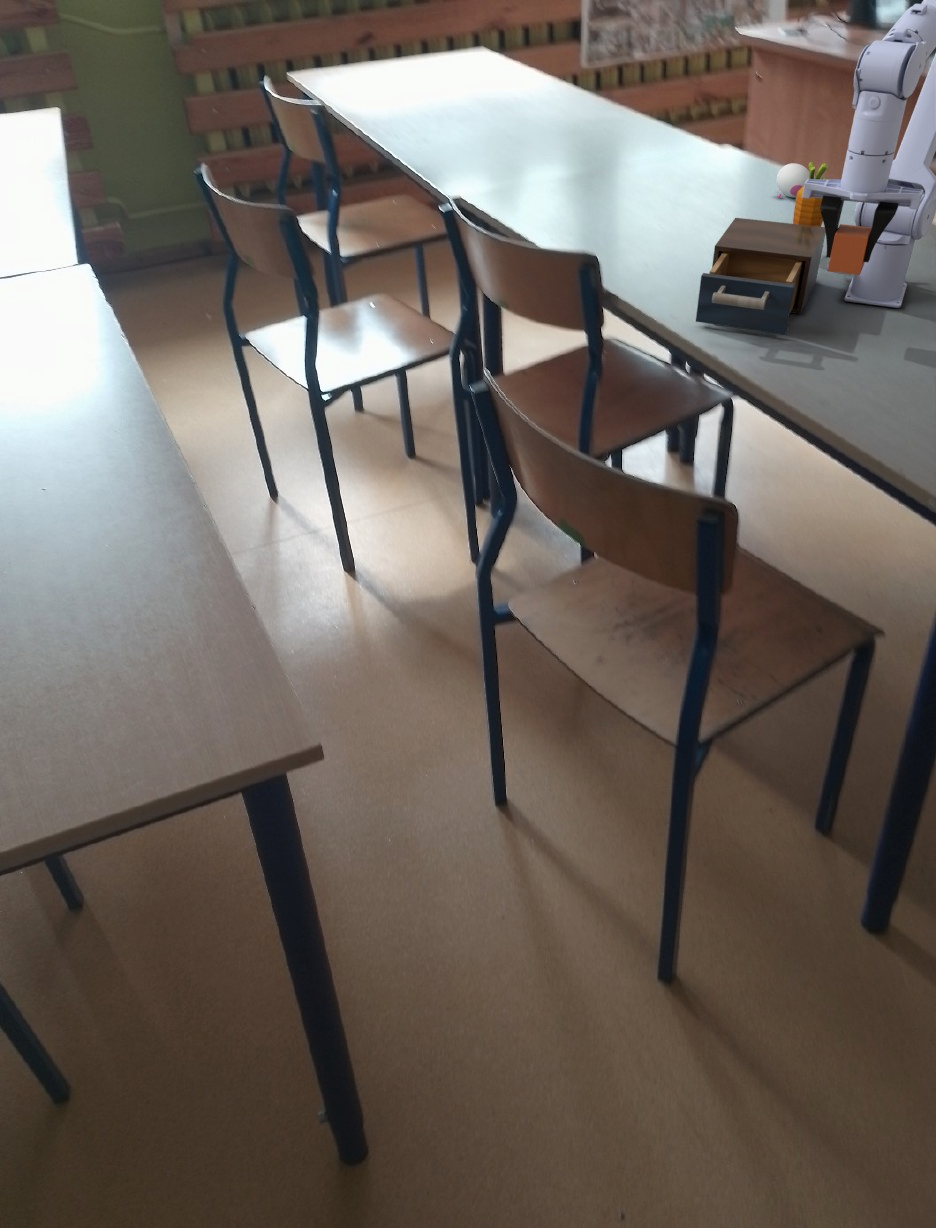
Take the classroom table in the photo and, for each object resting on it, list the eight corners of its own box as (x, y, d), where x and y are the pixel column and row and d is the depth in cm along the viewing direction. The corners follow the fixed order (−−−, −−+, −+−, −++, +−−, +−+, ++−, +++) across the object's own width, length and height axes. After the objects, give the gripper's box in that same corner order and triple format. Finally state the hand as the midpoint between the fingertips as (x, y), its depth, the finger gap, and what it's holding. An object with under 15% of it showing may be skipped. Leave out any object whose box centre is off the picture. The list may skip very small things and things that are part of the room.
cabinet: (800, 314, 144) (811, 257, 139) (707, 301, 149) (714, 245, 144) (815, 282, 154) (826, 227, 148) (727, 271, 158) (735, 217, 153)
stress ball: (806, 218, 187) (831, 186, 184) (780, 198, 182) (804, 164, 179) (786, 205, 192) (809, 173, 189) (760, 184, 188) (783, 152, 185)
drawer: (778, 348, 134) (786, 300, 130) (687, 334, 138) (692, 287, 134) (800, 302, 146) (809, 256, 142) (715, 290, 150) (721, 246, 146)
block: (827, 271, 133) (835, 233, 130) (832, 260, 136) (840, 223, 133) (859, 275, 132) (868, 237, 129) (864, 264, 135) (872, 227, 132)
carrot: (783, 253, 164) (800, 157, 154) (814, 254, 163) (833, 157, 154) (787, 264, 160) (804, 166, 150) (818, 264, 159) (837, 166, 150)
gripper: (806, 153, 124) (787, 260, 133) (929, 163, 119) (900, 274, 128) (816, 139, 129) (797, 243, 138) (934, 148, 124) (907, 256, 133)
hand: (847, 257), depth 133 cm, fingers closed on block, 4 cm apart
